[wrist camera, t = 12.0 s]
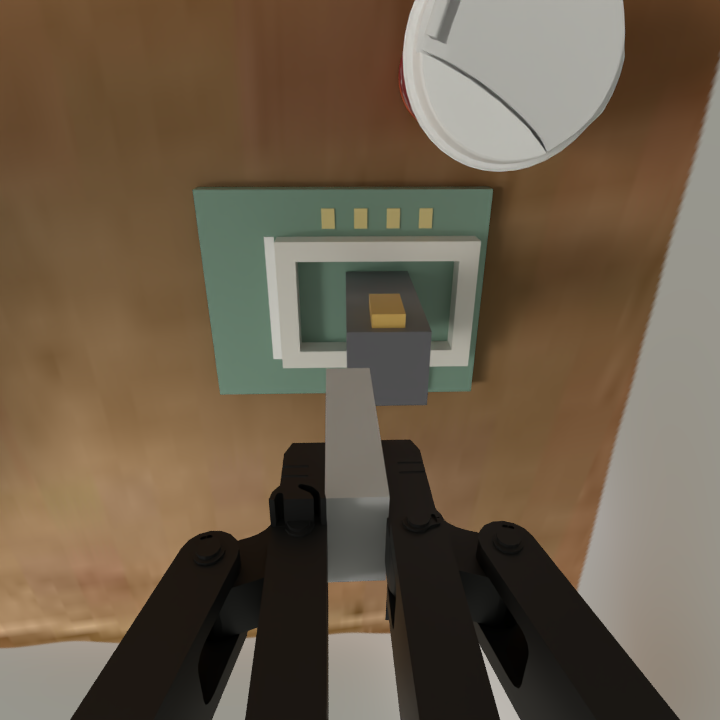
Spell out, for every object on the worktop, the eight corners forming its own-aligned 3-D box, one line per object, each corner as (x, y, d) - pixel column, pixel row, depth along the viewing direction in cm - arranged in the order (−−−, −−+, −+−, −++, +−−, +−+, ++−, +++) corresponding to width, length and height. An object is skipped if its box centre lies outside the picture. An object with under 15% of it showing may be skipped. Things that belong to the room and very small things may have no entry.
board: (223, 386, 38) (215, 405, 35) (197, 187, 32) (185, 193, 29) (467, 383, 38) (475, 401, 36) (488, 186, 32) (499, 192, 30)
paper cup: (361, 123, 30) (375, 133, 18) (407, -29, 27) (463, -149, 15) (482, 167, 32) (575, 205, 19) (539, 26, 28) (695, -39, 16)
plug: (346, 329, 35) (347, 406, 26) (345, 260, 33) (346, 318, 24) (405, 328, 35) (426, 405, 26) (408, 260, 33) (432, 317, 24)
